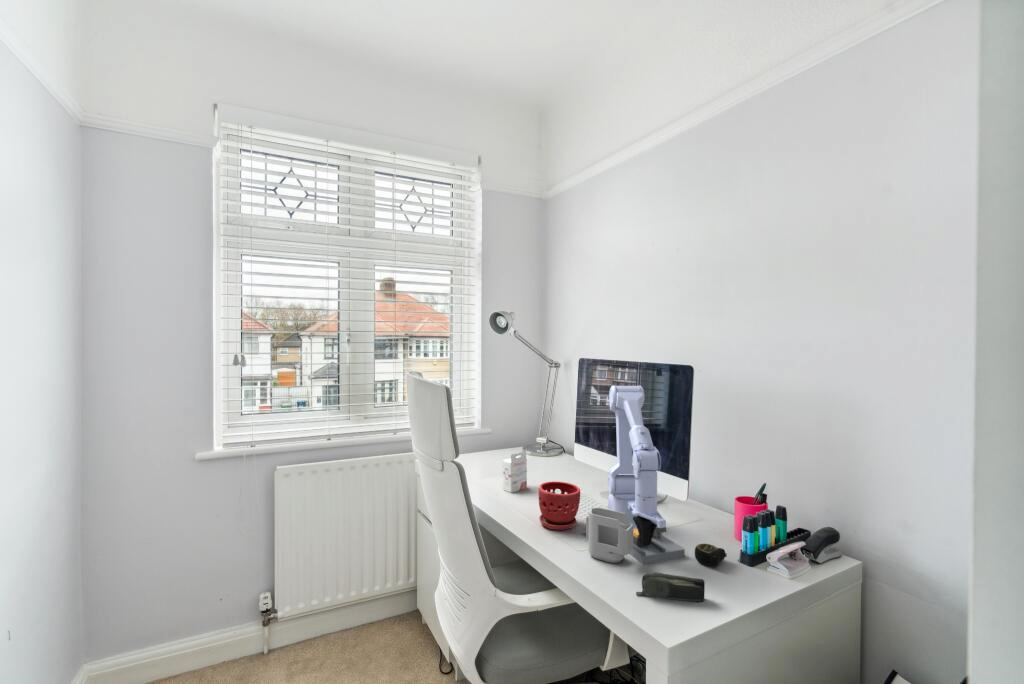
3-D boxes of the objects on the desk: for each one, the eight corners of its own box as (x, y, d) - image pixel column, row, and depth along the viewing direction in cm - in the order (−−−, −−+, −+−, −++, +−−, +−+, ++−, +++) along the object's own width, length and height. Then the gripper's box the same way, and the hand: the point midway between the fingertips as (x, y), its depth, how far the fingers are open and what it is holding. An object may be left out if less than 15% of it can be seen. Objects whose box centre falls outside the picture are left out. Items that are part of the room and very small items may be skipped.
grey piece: (626, 569, 119) (626, 522, 119) (582, 556, 126) (582, 512, 126) (635, 558, 125) (635, 514, 124) (592, 547, 131) (592, 504, 131)
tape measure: (716, 571, 118) (716, 557, 118) (690, 562, 123) (690, 548, 123) (726, 562, 123) (727, 548, 123) (701, 553, 128) (701, 540, 128)
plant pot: (548, 535, 139) (548, 495, 139) (532, 519, 151) (532, 482, 151) (587, 530, 143) (587, 491, 143) (569, 514, 156) (569, 479, 155)
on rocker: (640, 530, 138) (639, 523, 138) (650, 528, 139) (649, 522, 139) (656, 533, 130) (655, 526, 131) (666, 531, 132) (665, 525, 132)
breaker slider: (628, 541, 131) (628, 529, 131) (641, 539, 132) (641, 527, 132) (637, 547, 127) (637, 535, 127) (649, 545, 128) (649, 533, 128)
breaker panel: (608, 537, 138) (608, 520, 138) (647, 531, 142) (647, 514, 142) (642, 564, 122) (642, 544, 122) (684, 556, 126) (684, 537, 126)
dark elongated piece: (703, 576, 107) (635, 569, 109) (706, 583, 104) (637, 575, 106) (702, 597, 107) (635, 590, 109) (705, 605, 104) (636, 597, 106)
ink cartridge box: (518, 485, 186) (518, 448, 186) (527, 488, 183) (527, 451, 183) (502, 490, 181) (502, 452, 180) (510, 493, 177) (511, 454, 177)
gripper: (618, 487, 132) (618, 535, 132) (649, 505, 118) (649, 558, 118) (640, 485, 134) (639, 532, 134) (672, 501, 120) (672, 554, 120)
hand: (645, 544), depth 126 cm, fingers closed
